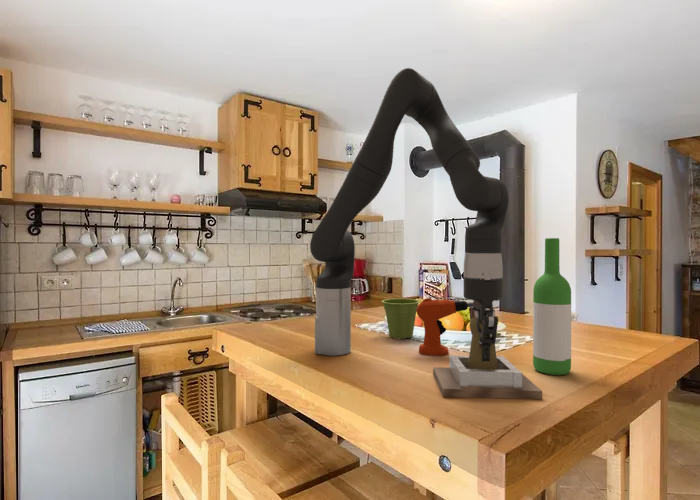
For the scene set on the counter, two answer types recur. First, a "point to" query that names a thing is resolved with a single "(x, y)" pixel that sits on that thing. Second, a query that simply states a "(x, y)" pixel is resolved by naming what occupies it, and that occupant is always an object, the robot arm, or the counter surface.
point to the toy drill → (436, 323)
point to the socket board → (452, 388)
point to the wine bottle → (552, 316)
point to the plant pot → (400, 317)
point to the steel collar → (485, 374)
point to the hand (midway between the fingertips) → (482, 360)
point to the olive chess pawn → (480, 351)
